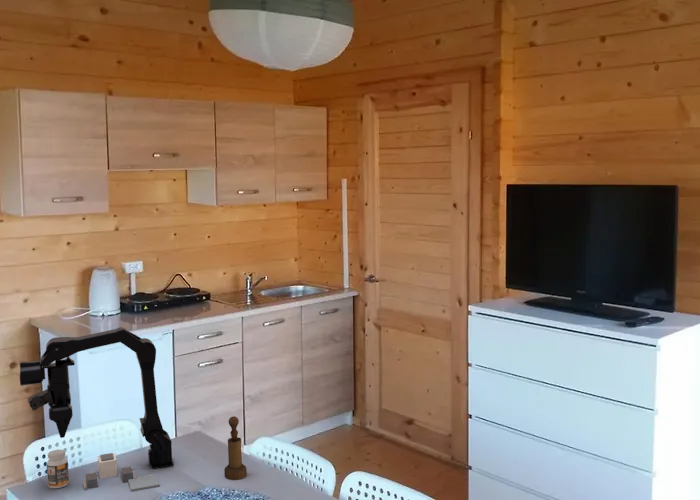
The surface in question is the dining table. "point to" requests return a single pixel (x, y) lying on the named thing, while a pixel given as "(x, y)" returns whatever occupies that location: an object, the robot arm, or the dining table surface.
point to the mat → (143, 482)
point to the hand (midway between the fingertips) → (62, 432)
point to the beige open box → (107, 465)
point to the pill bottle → (57, 469)
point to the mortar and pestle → (234, 454)
